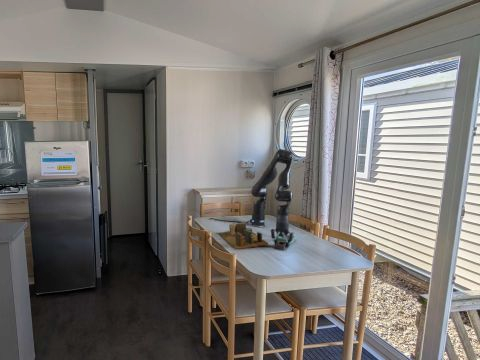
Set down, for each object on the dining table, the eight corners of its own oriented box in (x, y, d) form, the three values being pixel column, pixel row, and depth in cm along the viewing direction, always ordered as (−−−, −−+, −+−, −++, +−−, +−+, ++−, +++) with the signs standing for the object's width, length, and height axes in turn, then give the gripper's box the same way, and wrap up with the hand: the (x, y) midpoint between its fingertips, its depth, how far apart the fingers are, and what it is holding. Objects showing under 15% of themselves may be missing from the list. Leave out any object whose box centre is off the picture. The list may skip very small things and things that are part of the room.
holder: (289, 244, 198) (289, 240, 198) (275, 241, 204) (275, 237, 204) (295, 240, 207) (295, 236, 206) (281, 237, 213) (281, 233, 212)
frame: (283, 250, 189) (284, 245, 188) (274, 248, 193) (274, 243, 192) (288, 246, 195) (288, 242, 194) (278, 244, 199) (278, 240, 198)
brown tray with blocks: (271, 248, 192) (269, 226, 190) (236, 254, 189) (234, 232, 187) (248, 231, 226) (246, 212, 224) (218, 236, 224) (216, 217, 221)
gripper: (296, 221, 190) (294, 247, 192) (273, 218, 199) (272, 242, 201) (292, 224, 184) (290, 250, 186) (269, 220, 193) (268, 245, 196)
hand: (281, 246), depth 194 cm, fingers closed on frame, 6 cm apart
